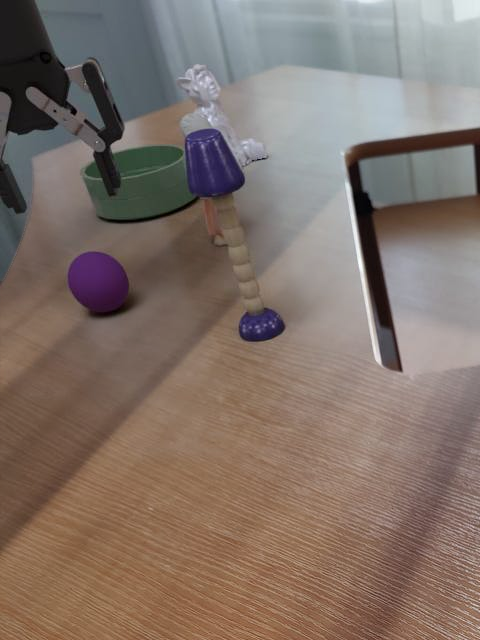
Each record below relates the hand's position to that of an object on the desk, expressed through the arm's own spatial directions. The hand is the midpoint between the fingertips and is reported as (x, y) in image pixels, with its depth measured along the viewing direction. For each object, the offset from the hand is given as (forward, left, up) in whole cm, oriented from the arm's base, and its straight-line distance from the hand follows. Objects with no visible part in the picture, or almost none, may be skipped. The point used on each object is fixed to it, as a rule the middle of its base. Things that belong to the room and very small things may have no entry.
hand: (68, 202), depth 81 cm
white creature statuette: (+12, +42, -10) cm, 45 cm away
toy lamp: (+15, -12, -10) cm, 22 cm away
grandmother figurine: (+12, +14, -10) cm, 21 cm away
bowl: (+2, +32, -10) cm, 33 cm away
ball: (0, 0, -7) cm, 7 cm away
